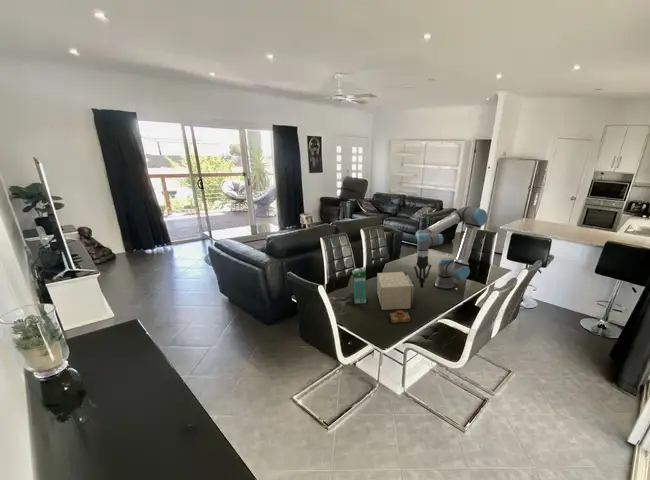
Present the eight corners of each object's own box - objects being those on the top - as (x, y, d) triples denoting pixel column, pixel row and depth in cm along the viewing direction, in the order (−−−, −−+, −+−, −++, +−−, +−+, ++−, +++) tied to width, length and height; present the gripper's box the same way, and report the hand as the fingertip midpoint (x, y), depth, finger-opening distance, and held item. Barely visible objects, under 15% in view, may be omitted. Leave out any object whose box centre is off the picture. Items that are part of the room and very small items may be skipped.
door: (412, 295, 243) (412, 275, 236) (418, 307, 224) (419, 285, 217) (405, 296, 242) (405, 275, 236) (410, 308, 223) (411, 286, 217)
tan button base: (407, 315, 214) (407, 309, 213) (410, 321, 206) (410, 316, 204) (389, 316, 213) (389, 310, 211) (391, 322, 205) (391, 317, 203)
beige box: (406, 292, 249) (406, 271, 243) (413, 308, 223) (414, 285, 217) (377, 293, 247) (377, 273, 241) (381, 310, 221) (381, 287, 215)
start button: (402, 312, 210) (402, 309, 209) (403, 315, 206) (403, 312, 206) (396, 312, 210) (396, 310, 209) (397, 315, 206) (397, 313, 205)
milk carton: (353, 298, 240) (352, 266, 230) (365, 297, 240) (365, 266, 231) (354, 303, 231) (352, 271, 222) (366, 303, 232) (365, 270, 223)
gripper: (414, 257, 217) (413, 289, 226) (433, 256, 219) (431, 288, 227) (412, 254, 224) (411, 285, 233) (430, 253, 225) (429, 284, 234)
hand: (421, 287), depth 230 cm, fingers closed
